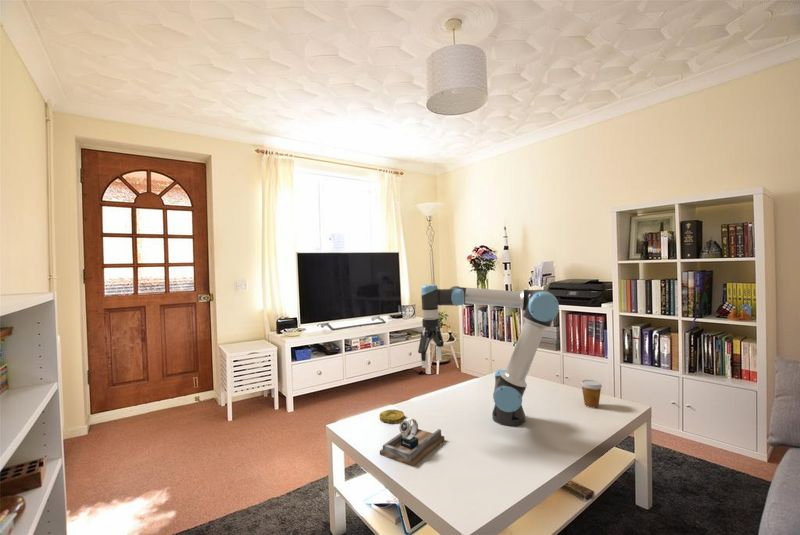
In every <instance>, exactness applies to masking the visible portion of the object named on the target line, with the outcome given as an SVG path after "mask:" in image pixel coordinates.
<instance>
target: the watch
mask: <svg viewBox="0 0 800 535" xmlns="http://www.w3.org/2000/svg"><path fill="white" fill-rule="evenodd" d="M411 423H412V425H411ZM417 423H418V422H417V420H416V419H415V418H412V417H407V418H404V419H403V420H401V422H400V424H399V432H400V433H401V435H402V438H401V446H403V447H405V448H408V449H410V450H412V449H414V448H415V447H416V446H418V438H416V437H414V435H415V434H416V431H417ZM411 426H412V429H411ZM410 430H411V432H410V433H411V434H410V435H409V434H408V432H409V431H410ZM400 433H399V434H400ZM407 434H408V435H407Z"/></svg>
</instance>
